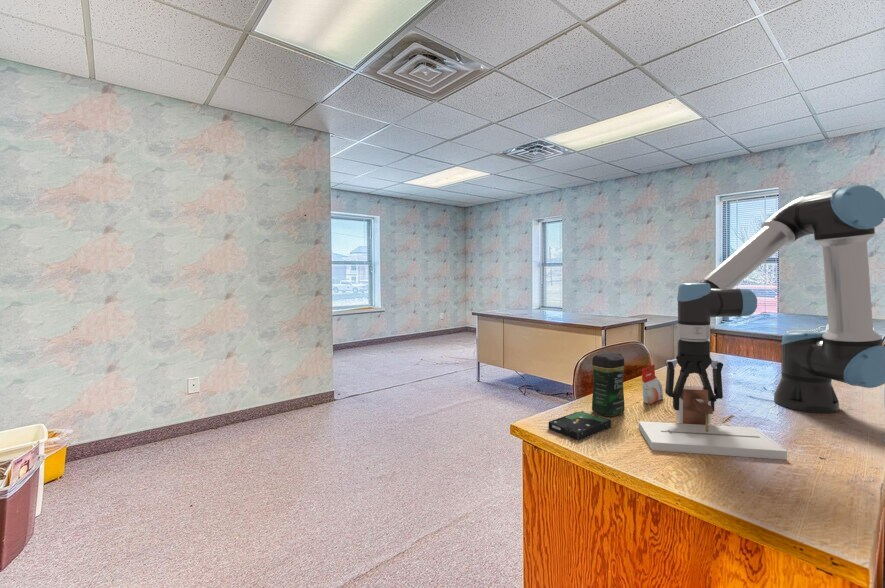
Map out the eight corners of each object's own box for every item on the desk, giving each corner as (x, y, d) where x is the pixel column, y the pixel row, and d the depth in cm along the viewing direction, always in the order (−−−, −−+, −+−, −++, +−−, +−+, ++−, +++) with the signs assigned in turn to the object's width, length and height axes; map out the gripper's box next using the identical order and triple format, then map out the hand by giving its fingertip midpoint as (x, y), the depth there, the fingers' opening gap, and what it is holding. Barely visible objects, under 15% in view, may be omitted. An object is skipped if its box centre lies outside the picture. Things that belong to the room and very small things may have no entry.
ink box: (663, 398, 136) (663, 365, 135) (650, 404, 130) (650, 370, 130) (654, 396, 138) (654, 364, 138) (642, 402, 132) (641, 368, 132)
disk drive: (579, 443, 104) (611, 428, 113) (578, 432, 104) (611, 419, 113) (547, 431, 113) (580, 418, 121) (547, 421, 113) (580, 409, 121)
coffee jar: (610, 419, 119) (609, 357, 118) (587, 412, 125) (587, 353, 124) (629, 412, 124) (629, 353, 123) (607, 405, 130) (606, 349, 129)
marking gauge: (701, 424, 113) (701, 385, 112) (722, 444, 100) (722, 400, 99) (677, 422, 114) (678, 384, 113) (695, 442, 101) (695, 399, 100)
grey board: (755, 435, 105) (755, 427, 104) (786, 459, 91) (787, 450, 91) (638, 428, 111) (638, 420, 111) (651, 450, 98) (651, 441, 98)
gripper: (659, 341, 108) (659, 425, 109) (740, 342, 103) (739, 429, 105) (651, 336, 115) (651, 415, 116) (727, 337, 111) (726, 419, 112)
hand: (693, 422), depth 111 cm, fingers closed on marking gauge, 6 cm apart
